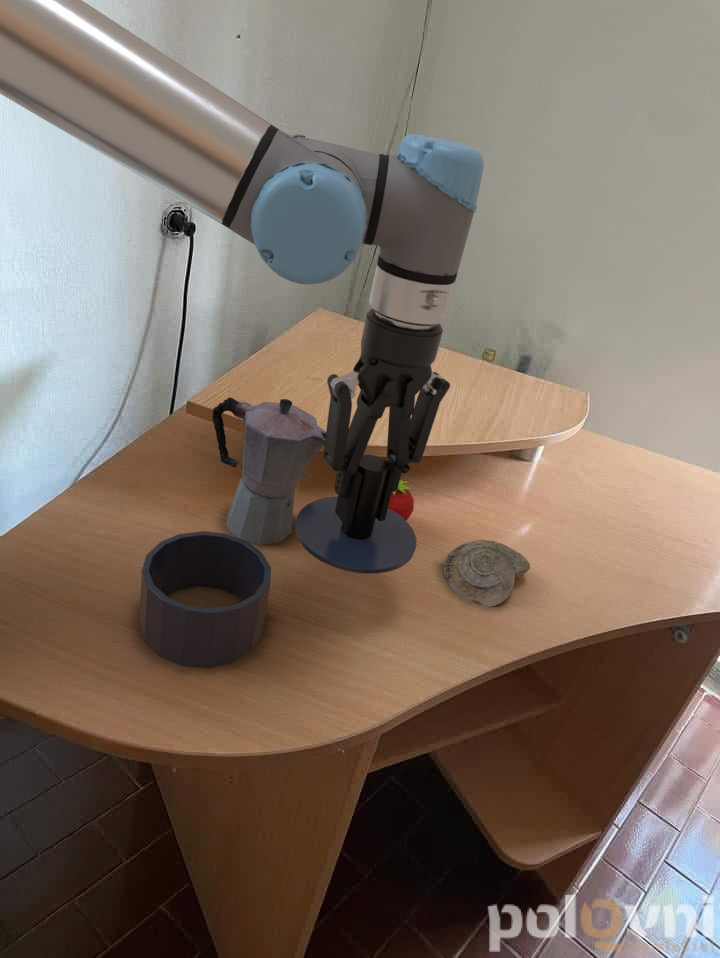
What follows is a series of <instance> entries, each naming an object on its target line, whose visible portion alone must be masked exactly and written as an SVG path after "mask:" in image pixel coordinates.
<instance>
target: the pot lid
mask: <svg viewBox="0 0 720 958" xmlns="http://www.w3.org/2000/svg"><path fill="white" fill-rule="evenodd" d="M384 459H385V458H382V457H380V456H377V455H374V454H363V457H362V459H361V462H360V464H359V467H358V470H359V472H360V473H361V474H362V475H363V476H362V480H361V484H360V489H359V493H358V498H357V502H356V507H355V511H354V515H353V520H352V524H351V525H348V526H345V525H344V524H343V522H342V521H341V520H340V518H339V517H338V516H337V514H336V513H335V509H336V504H337V499H338V495H336V496H335V495H334V496H327V497H322V498H318V499H316V500H313V501H311V502H309V503H307V504H306V505H305V506H303V508H301V509H300V511H298V513H297V517H296V518H295V523H294V529H295V535H296V538H297V540H298V542H299V543H300V544H301V546H302V547H303V548H304V549H305V550H306V552H308V553H309V554H310V555H311V556H312V557H314V558H315V559H317V560H318V561H320V562H322V563H324V564H326V565H328V566H330V567H333V568H334V569H335V568H336V569H339V570H342V571H346V572H351V573H356V574H367V575H375V574H384V573H388V572H392V571H395V570H398V569H400V568H402V567H404V566H405V565H407V564H408V563H409V562H410V561H411V560H412V558H413V556H414V555H415V552H416V549H417V536H416V534H415V531H414V529H413V527H412V526H411V525H410V524H409V522H408V520H407V521H406V520H405V519H404V518H402V517H401V516H400V515H399V514H397V513H396V512H394V511H393V510H391V509H389V508H388V510H387V514H386V517H385V521H378V519H377V518H376V516H377V512H378V508H379V504H380V500H381V496H382V492H383V488H384V484H385V480H386V476H387V471H388V467H389V465H388V463H387V462H386V461H385V460H384Z"/></svg>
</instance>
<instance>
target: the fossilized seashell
mask: <svg viewBox="0 0 720 958" xmlns="http://www.w3.org/2000/svg"><path fill="white" fill-rule="evenodd" d="M530 569H531V564H530V562H529V560H528V559H527V557H525V556H524V555H523V554H521V553H520V552H518V551H517V550H515V549H514V548H512V547H510V546H508V545H506V544H503V543H501V542H497V541H495V540H487V539H477V540H472V541H467V542H465V543H462V544H460V545H458V546H456V547H455V548H454V549H452V550H451V551H450V552H448V554H447V556H446V557H445V559H444V562H443V564H442V575H443V579H444V580H445V582H446V583H447V585H448V587H449V589H450V590H451V591H452V592H453V593H455V595H457V596H459V597H461V598H462V599H464V600H466V601H468V602H470V603H471V602H472V603H474V604H477V605H479V606H481V607H486V608H491V607H495V606H499V605H500V604H502V603H503V602H504V601H506V600H507V599H508V598H509V597H510V595H511V594H512V592H513V590H514V587H515V582H516V579H518V578H520V577H522V576H524V575H525V574H526V573H527V572H528V571H529V570H530Z"/></svg>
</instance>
